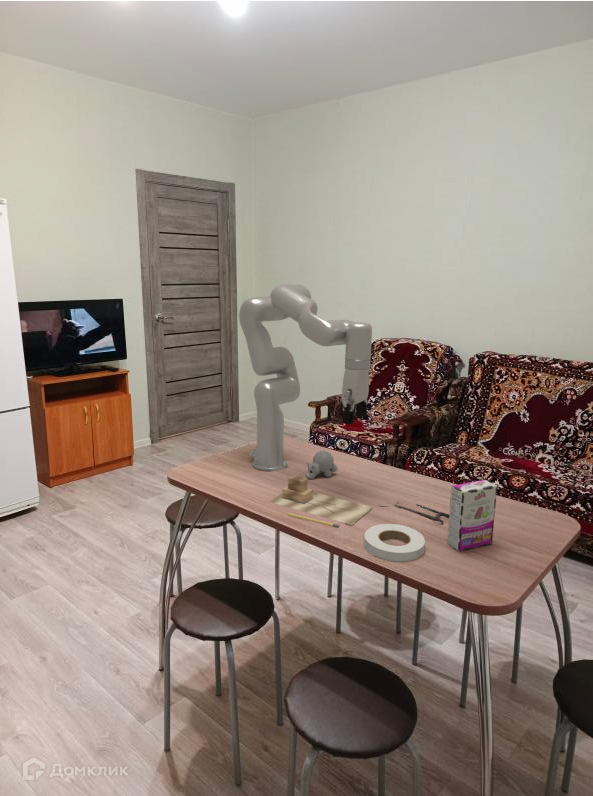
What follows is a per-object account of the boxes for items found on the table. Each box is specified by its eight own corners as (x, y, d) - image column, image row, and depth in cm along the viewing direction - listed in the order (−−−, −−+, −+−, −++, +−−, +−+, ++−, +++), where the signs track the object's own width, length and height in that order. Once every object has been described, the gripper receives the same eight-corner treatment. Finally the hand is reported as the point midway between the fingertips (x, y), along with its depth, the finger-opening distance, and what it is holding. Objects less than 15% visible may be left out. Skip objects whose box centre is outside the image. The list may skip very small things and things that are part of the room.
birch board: (268, 502, 165) (268, 501, 165) (293, 487, 177) (293, 486, 177) (351, 526, 151) (351, 524, 151) (372, 508, 162) (372, 507, 162)
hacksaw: (462, 522, 155) (463, 517, 155) (442, 533, 149) (443, 528, 148) (394, 496, 173) (395, 492, 172) (373, 505, 166) (374, 500, 166)
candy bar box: (479, 536, 147) (485, 478, 143) (492, 544, 142) (499, 485, 139) (445, 543, 142) (450, 484, 139) (458, 552, 138) (464, 491, 134)
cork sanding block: (282, 498, 168) (282, 478, 166) (290, 492, 172) (291, 473, 170) (304, 504, 164) (304, 483, 162) (312, 498, 168) (313, 478, 166)
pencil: (287, 516, 156) (287, 514, 156) (288, 515, 157) (288, 512, 156) (338, 528, 149) (338, 526, 149) (339, 527, 150) (339, 524, 150)
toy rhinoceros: (303, 483, 188) (296, 463, 184) (327, 464, 194) (321, 444, 190) (316, 489, 182) (309, 469, 179) (341, 469, 188) (335, 449, 185)
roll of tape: (432, 562, 134) (433, 551, 133) (370, 563, 132) (371, 552, 132) (414, 532, 149) (415, 523, 148) (359, 533, 147) (359, 523, 147)
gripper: (357, 359, 171) (355, 412, 175) (333, 367, 156) (331, 424, 160) (380, 362, 167) (377, 415, 171) (357, 370, 153) (354, 428, 157)
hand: (354, 420), depth 166 cm, fingers open, 9 cm apart
